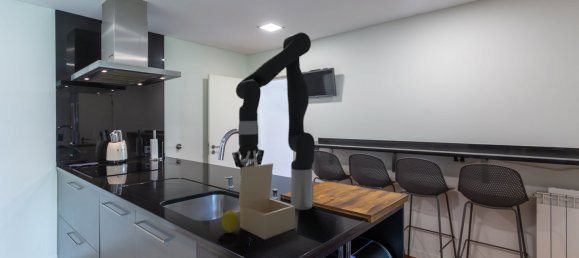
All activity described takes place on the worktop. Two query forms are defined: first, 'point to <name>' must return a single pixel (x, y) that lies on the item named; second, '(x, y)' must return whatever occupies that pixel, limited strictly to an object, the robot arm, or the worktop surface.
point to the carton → (267, 217)
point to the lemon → (230, 221)
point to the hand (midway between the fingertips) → (248, 177)
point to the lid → (255, 183)
